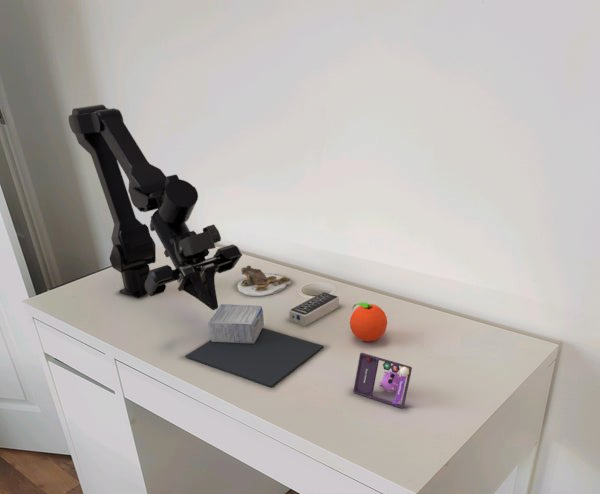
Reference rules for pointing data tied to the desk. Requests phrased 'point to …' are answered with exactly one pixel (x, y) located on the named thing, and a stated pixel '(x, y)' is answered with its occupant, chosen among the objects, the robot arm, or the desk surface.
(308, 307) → the multiport hub
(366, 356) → the game card
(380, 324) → the clementine
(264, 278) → the frog figurine
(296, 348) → the mouse mat
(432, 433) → the desk surface
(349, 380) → the desk surface
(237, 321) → the medicine box
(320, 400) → the desk surface
